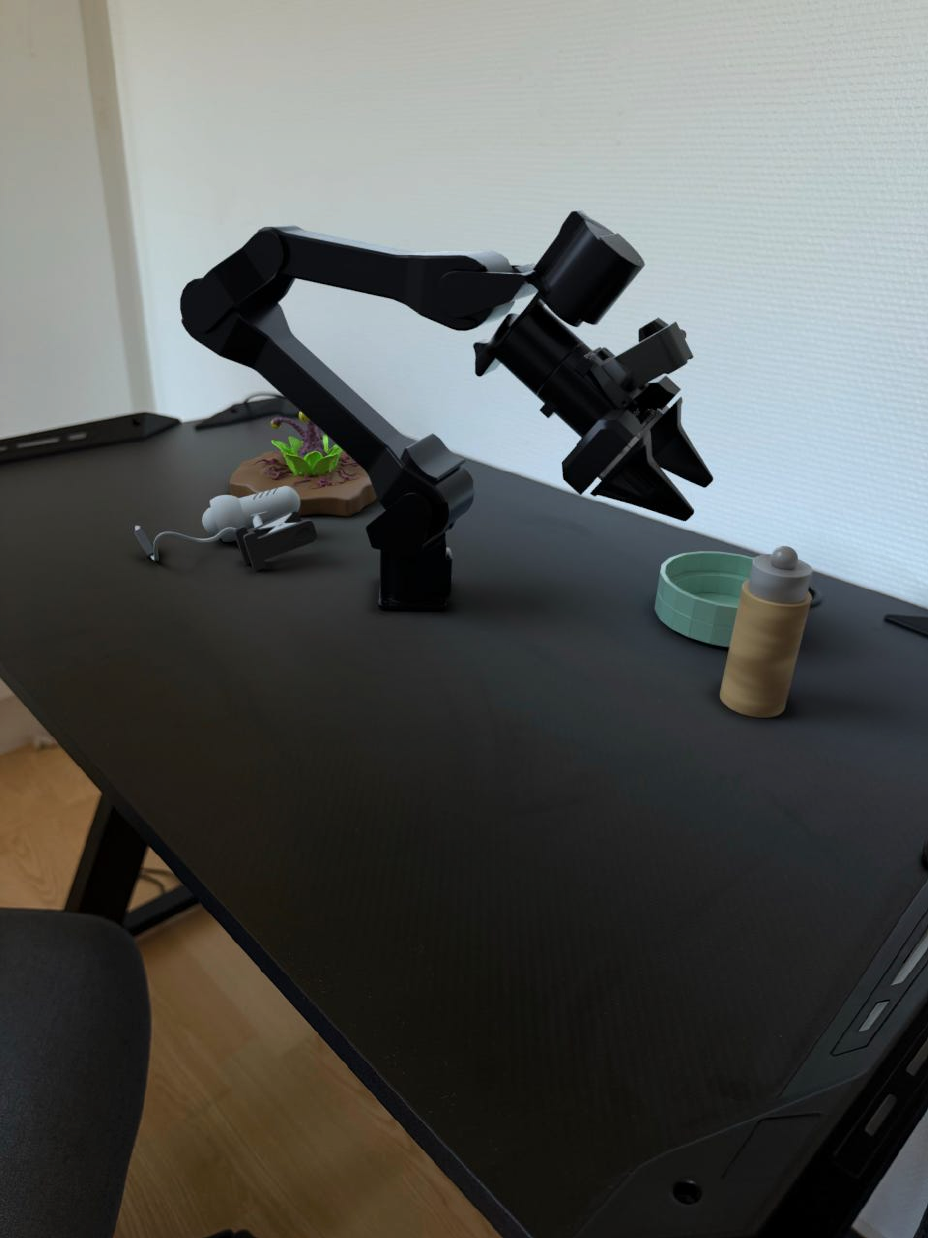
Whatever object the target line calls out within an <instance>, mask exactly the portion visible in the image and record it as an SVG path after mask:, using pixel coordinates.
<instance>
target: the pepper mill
mask: <svg viewBox="0 0 928 1238" xmlns="http://www.w3.org/2000/svg"><path fill="white" fill-rule="evenodd" d="M753 558H754V559H753V562H752V567H751V572H750V576H749V580H747V581H745V582H744V583H743V585H742V589H741V593H740V598H739V603H738V608H737V613H736V618H735V623H734V627H733V632H732V637H731V642H730V647H728V652H727V657H726V662H725V665H724V671H723V675H722V676H723V677H722V681H721V686H720V689H719V690H720V691H719V698H720V701H721V702H722V703H723V705H725V706H726V707H727V708H728V709H730V710H732V711H734V712H735V713H738V714H740V715H744V716H747V717H752V718H757V719H768V718H775V717H777V716H779V715H781V714H782V713H783V712H784V711H785V709H786V705H787V700H788V697H789V693H790V688H791V684H792V680H793V677H794V672H795V668H796V665H797V660H798V656H799V653H800V648H801V644H802V640H803V635H804V632H805V627H806V624H807V619H808V616H809V611H810V608H811V604H812V599H813V596H812V594H811V593H810V591H809V588H810V585H811V580H812V576H813V572H814V570H813V567H812V566H811V565H810V564H809V563H808V562H806V561H804V560H802V559H800V558H799V556H798V553H797V551H796V550H795V549H794V548H793V547H791V546H788V545H780V546H777V547H776V548H775V549H773V550H772V552H771V553H766V554H760V555H757V556H755V557H753Z"/></svg>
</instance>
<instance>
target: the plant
mask: <svg viewBox="0 0 928 1238" xmlns="http://www.w3.org/2000/svg"><path fill="white" fill-rule="evenodd" d="M298 419H299V420H300V421H301V422H303V423H306V426H307V428H306V429H305V428H303V427H302V426H301V425H300V424H299V423H298V422H296V421H295V420H293V419H291V418H288V417H280V416H277V417H274V418H272V419H271V421H270V426H271V427H272V429H273V430H279V429H281V427H282V424H283V423H286V424H287V425H290V426H291V427H292V428H293V429H295V431H296V432H298V434H299V435H300V436H301V440H299V439H298V438H296V437H294V436H292V435H290V436H289V435H288V441H289V444H290V446H289V445H288V444H287V443H285V442H282V441H279V440H274V439H272V440H271V444H272V445H274V446H275V447H277V449H279V450H274V451H263V452H262V454H261V455H259V456H256V457H254V458H250V459H246V460H243V461H242V462H241V463H240V464H239V466H238V468H237V469H235V471H233V473H232V475H231V477H230V480H229V495H231V496H235V497H237V498H242V497H246V496H249V495H253V494H257V493H261V492H264V491H268V490H272V489H276V488H279V487H283V486H289V487H291V488H292V489H294V490H295V491H296V492H297V494H298V495H299V498H300V508H299V510H298V513H299V515H300V517H302V516H311V515H328V516H336V517H337V516H338V517H346V518H347V517H350V516H352V515H354V514H358V513H359V512H361V510H362V509H364V508H365V507H366V506H368V505H371V504H373V503H374V502H375V501H376V500H378V498H377V496H376V493H375V491H374V488H373V486H372V483H371V480H370V478H369V476H368V474H367V473H366V471H365V470H364V469H363V468H362V467H361V466H359V465H358V464H357V463H356V462H355V461H354V460H353V459H352V458H351V457H350V456H349V455H347V454H346V453H345V452H344V451H343V450H342V449H341V448H340V447H339V446H338V445H337V444H334V445H333V446H332V447H331V448H329V437H328V436H327V435H326V434H324V433H323V432H322V431H321V430H320V429H319V428H318V427H317V426H316V425H315V424H314V423H313V422H311V421H310V420H309V419H308V418H307V417H306V416H305V415H304V414H303V413H302V412H301V411H299V412H298Z"/></svg>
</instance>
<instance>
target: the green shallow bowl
mask: <svg viewBox="0 0 928 1238" xmlns="http://www.w3.org/2000/svg"><path fill="white" fill-rule="evenodd" d="M754 558H755V557H752V556H749V555H744V554H739V553H732V552H725V551H724V552H723V551H709V550H708V551H707V550H705V551H704V550H699V551H690V552H684V553H683V552H682V553H680V554H676V555H673V556H670V557H669V558H667V559H666V560H665V561H664V562H663V563H661V566H660V571H659V575H658V577H659V578H658V582H657V589H656V590H657V591H656V597H655V601H654V611H655V613H656V615H657V617H658V619H659V620H660V621H661V622H662V623H663V624H664V625H666V626H667V627H668V628H670V630H673V631H675V632H677V633H679V634H681V635H683V636H685V637H687V638H690V639H693V640H695V641H699V642H701V643H705V644H707V645H712V646H717V647H721V648H723V647H724V648H729V647H730V642H731V637H732V632H733V627H734V623H735V618H736V613H737V608H738V603H739V598H740V593H741V589H742V585H743V583H744V582H745V581H747V580H749V576H750V572H751V567H752V562H753V559H754Z"/></svg>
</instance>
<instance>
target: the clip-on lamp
mask: <svg viewBox="0 0 928 1238" xmlns="http://www.w3.org/2000/svg"><path fill="white" fill-rule="evenodd" d="M209 505H210V507H208V508H207V509H206V510H205V511H204V512H203V515H202V517H201V518H202V519H201V522H202V526H203V528H204V530H205V531H206V532H207V533H208V534H210V535H212V537H208V538H197V537H193V536H188V535H185V534H183V533H179V532H175V531H163V532H160V533H158V535H156V537H155V538H154V541H153V542H152V541H151V539H150V537H149V536H148V533H147V531H146V530H145V528H143V527H141V526H140V525H135V526H134V531H133V534H134V537H135V538H136V540H137V542H138V544H139V545H140V547H141V549H142V552H143V553H144V555H145V556H146V558H147V559H148V560H150V559H151V560H153V561H154V562H158V561H159V559H160V557H159V549H158V542H159V540H160V539H161V538H162V537H165V536H171V537H175V538H177V539H182V540H185V541H187V542H191V543H197V544H209V543H214V542H216V541H218V540H220V539H221V541H222V542H224V543H225V542H226V543H230V542H236V543H237V547H238V549H239V552H240V556H241V558H242V561H243V563H244V564H245V565H246V566H247V565H251V566H252V568H253V570H254V571H256V572H257V571H260V570H263V569H265V568H266V566H267V564H266V560H269V559H271V558H275V557H277V556H280V555H282V554H285V553H288V552H290V551H293V550H295V549H299V548H301V547H303V546H307V545H309V544H311V543H314V542H315V541H316V540H317V538H318V534H317V531H316V527H315V523H314V522H313V521H312V520H311V519H309V518H308V519H303V520H302V519H301V516H300V515H299V513H298V510H299V508H300V498H299V495H298V494H297V492H296V491H295V490H294V489H292V488H291V487H289V486H283V487H279V488H276V489H272V490H268V491H264V492H261V493H257V494H253V495H249V496H246V497H242V498H237V497H235V496H231V495H230V494H221V495H217V496H214V497H213V498H211V499H210V500H209Z"/></svg>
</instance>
